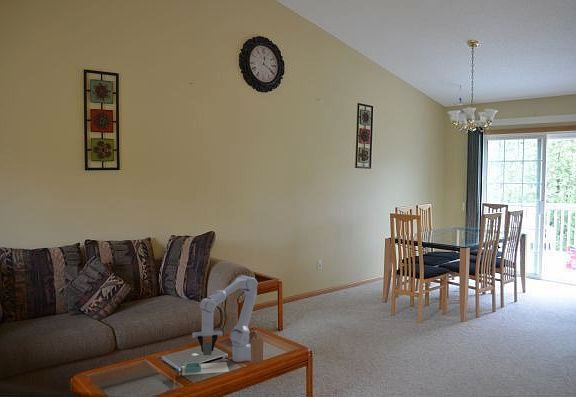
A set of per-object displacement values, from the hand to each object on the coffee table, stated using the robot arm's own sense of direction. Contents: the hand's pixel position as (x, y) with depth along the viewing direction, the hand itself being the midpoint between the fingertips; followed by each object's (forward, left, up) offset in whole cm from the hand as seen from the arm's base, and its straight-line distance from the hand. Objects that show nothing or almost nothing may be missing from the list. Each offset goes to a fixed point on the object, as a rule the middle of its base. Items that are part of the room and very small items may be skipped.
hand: (207, 350), depth 230 cm
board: (+1, 0, -10) cm, 10 cm away
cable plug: (0, 0, -1) cm, 1 cm away
